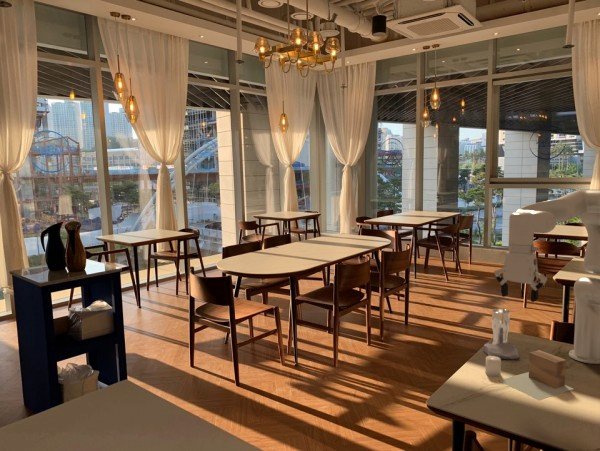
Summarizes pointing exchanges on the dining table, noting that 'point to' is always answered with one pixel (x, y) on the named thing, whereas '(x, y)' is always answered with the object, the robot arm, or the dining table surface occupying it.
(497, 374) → the white rounded cylinder
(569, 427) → the dining table surface
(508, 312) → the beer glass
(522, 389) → the mat
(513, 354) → the stone block
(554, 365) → the block
